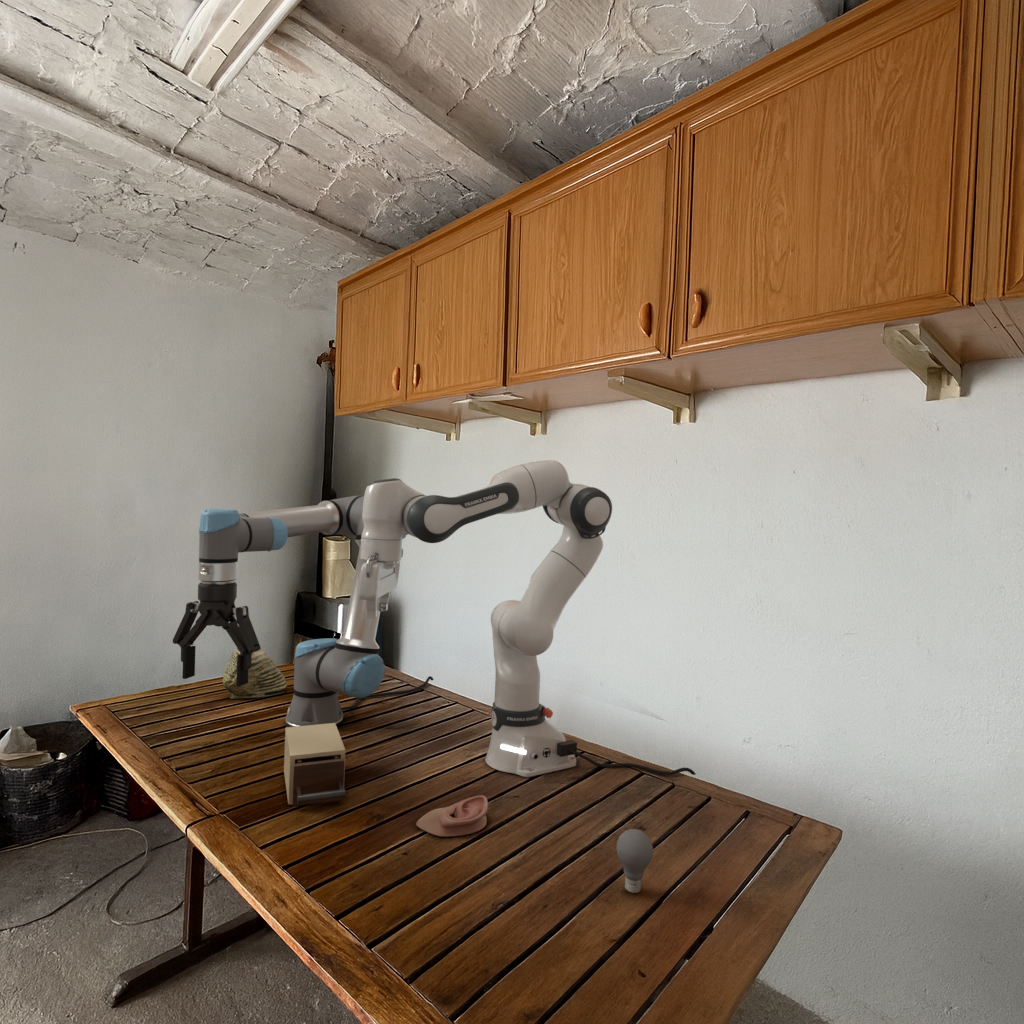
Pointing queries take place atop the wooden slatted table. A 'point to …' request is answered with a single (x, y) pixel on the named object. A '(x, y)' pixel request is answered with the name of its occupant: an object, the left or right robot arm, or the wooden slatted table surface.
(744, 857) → the wooden slatted table surface
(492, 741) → the right robot arm
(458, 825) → the anatomical model
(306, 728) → the cabinet
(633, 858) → the light bulb
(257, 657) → the fossil
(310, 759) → the drawer
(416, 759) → the wooden slatted table surface
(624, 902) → the wooden slatted table surface
